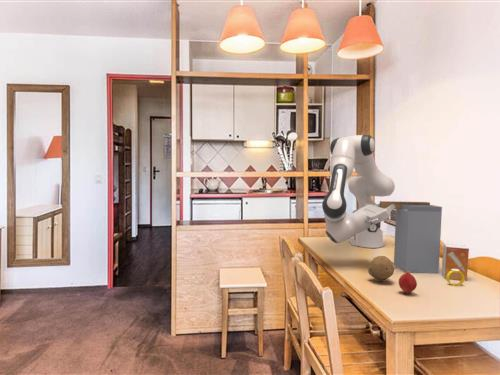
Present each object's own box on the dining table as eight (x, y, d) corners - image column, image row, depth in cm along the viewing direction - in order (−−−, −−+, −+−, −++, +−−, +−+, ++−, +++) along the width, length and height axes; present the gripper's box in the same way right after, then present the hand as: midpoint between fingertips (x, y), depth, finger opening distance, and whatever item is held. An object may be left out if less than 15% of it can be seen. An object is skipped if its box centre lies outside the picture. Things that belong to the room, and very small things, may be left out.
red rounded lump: (395, 290, 131) (396, 268, 131) (410, 290, 132) (411, 268, 131) (403, 296, 126) (404, 273, 125) (419, 296, 126) (420, 273, 126)
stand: (393, 265, 166) (396, 203, 164) (424, 265, 166) (427, 203, 165) (405, 272, 154) (408, 206, 152) (438, 273, 154) (441, 206, 153)
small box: (444, 278, 147) (446, 246, 146) (441, 274, 153) (442, 243, 152) (467, 281, 144) (469, 248, 144) (463, 276, 150) (465, 245, 150)
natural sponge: (398, 285, 138) (399, 258, 137) (376, 286, 136) (377, 259, 136) (385, 277, 147) (386, 253, 146) (365, 278, 145) (365, 253, 145)
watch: (449, 286, 138) (448, 271, 138) (445, 284, 141) (445, 268, 141) (465, 286, 138) (465, 270, 138) (461, 283, 141) (461, 268, 140)
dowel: (379, 208, 162) (379, 201, 162) (426, 208, 163) (426, 201, 163) (382, 208, 159) (382, 201, 159) (429, 209, 160) (430, 202, 160)
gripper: (366, 217, 150) (396, 200, 150) (351, 210, 171) (377, 196, 171) (373, 230, 151) (403, 214, 151) (357, 222, 171) (383, 208, 171)
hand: (389, 204), depth 161 cm, fingers open, 8 cm apart
